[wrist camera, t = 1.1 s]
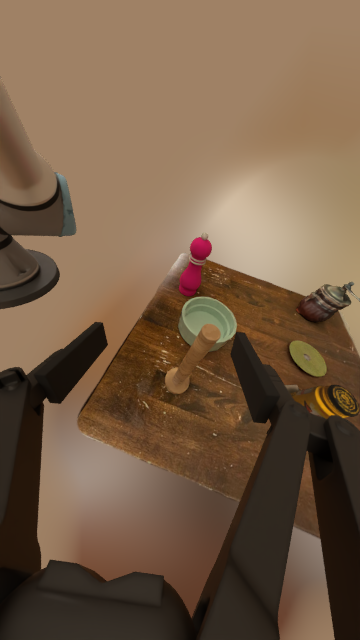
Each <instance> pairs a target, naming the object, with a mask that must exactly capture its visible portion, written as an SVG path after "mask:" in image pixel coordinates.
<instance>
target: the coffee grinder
mask: <svg viewBox="0 0 360 640" xmlns="http://www.w3.org/2000/svg"><path fill="white" fill-rule="evenodd" d="M352 285H354V283H353V282H350V283H349V284H345V285H344V286H343V287H342V288H341V287H337V286H331V285H327V284H326V285H323V286H322V287H321V288H319V289H318V290H316V291H315V292H312V293H311V294H310V295H309V296H307V297H305V298H304V299H303V300H301V302H300V305H299V307H298V308H297V309H296V311H298V313H300V314H302V315H303V316H304V318H305V319H306V320H310V321H311V322H321V321H325V320H327V319H329V318H330V317H332V316H333V315H334V313H335V312H337V311H338V310H341V309H343V308H345V307H346V306H349V305H350V304H351V300H350V298H349V297H348V295H347V294H345V293H346V290H348V291H349V292H350V293H351V294H352V295H353V296H355V294H354V293H353V292H352V291H351V286H352ZM355 297H356V298H357V299H358V300H359V301H360V299H359V298H358V297H357V296H355Z"/></svg>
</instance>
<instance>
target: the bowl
mask: <svg viewBox="0 0 360 640" xmlns="http://www.w3.org/2000/svg"><path fill="white" fill-rule="evenodd" d="M205 324H213V325H215V326H216V327H218V329H219V330H220V332H221V336H220V339H219V340H218V341H217V342H216V343H215V345H214V346H213V347H212V348H211V349H210V350H209V352H210V351H216V350H218V349H220V348H222V347H223V346H224V345H225V344H226V343H227V342H228V341H229V340H230V339H231V338H232V337H233V335H234V334H235V332H236V327H237V324H236V320H235V317H234V315H233V313H232V312H231V311H230V310H229V309H228V307H227V306H225V305H224V304H223V303H221V302H219V301H217V300H215V299H213V298H209V297H195V298H192V299H190V300H189V301H188V302H186V303H185V305H184V307H183V309H182V312H181V315H180V318H179V323H178V327H179V331H180V334H181V336H182V337H183V339H184V340H185V341H186V342H187V343H188V344H189V345H191V346H192V344H193V342H194V340H195V339H196V337H197V335H198V334H199V332H200V330H201V328H202V327H203V326H204V325H205Z"/></svg>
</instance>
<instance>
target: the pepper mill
mask: <svg viewBox="0 0 360 640" xmlns="http://www.w3.org/2000/svg"><path fill="white" fill-rule="evenodd" d="M207 238H208V234H207V233H203V234H202V236H201V237H199V238H196V239H194V240H193V242H192V243H191V246H190V251H191V254H190V257H189V260H190V262H189V265H188V267H187V269H186V270H185V271H184V272H183V273H182V275H181V277H180V286H179V291H180V292H181V293H182V294H183V295H185V296H193V295H194V294H195V293H196V290H197V288H198V287H199V286H200V284H201V268H202V265H203V264H205V261H206V257H208V256H209V255H210V253H211V250H212V246H211V243H210V241H209V240H207Z"/></svg>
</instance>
